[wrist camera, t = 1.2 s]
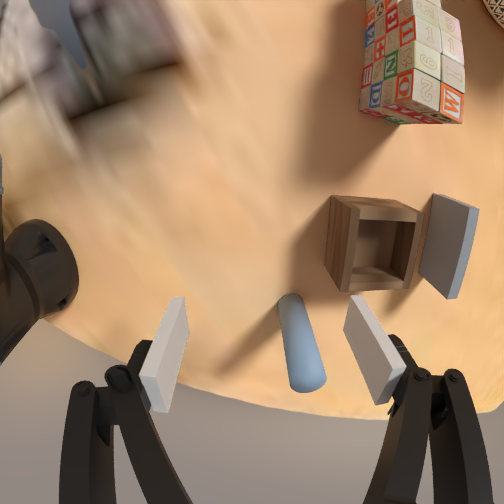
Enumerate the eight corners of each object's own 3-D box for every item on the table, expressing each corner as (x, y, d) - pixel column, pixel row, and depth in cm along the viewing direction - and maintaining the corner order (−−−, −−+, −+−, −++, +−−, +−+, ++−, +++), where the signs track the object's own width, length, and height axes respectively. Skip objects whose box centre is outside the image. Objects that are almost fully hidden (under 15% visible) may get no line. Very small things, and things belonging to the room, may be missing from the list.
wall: (418, 272, 35) (446, 299, 28) (433, 193, 31) (469, 207, 24) (427, 272, 35) (456, 298, 28) (442, 194, 31) (479, 209, 24)
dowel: (276, 315, 37) (288, 393, 24) (278, 293, 36) (291, 370, 23) (302, 315, 38) (323, 391, 25) (304, 293, 36) (329, 367, 23)
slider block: (324, 264, 35) (339, 291, 28) (331, 195, 31) (351, 208, 25) (384, 264, 35) (408, 288, 28) (394, 199, 31) (424, 213, 25)
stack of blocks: (364, -16, 20) (401, -58, 8) (403, 0, 20) (449, -31, 9) (357, 112, 28) (412, 99, 16) (400, 126, 28) (464, 125, 17)
